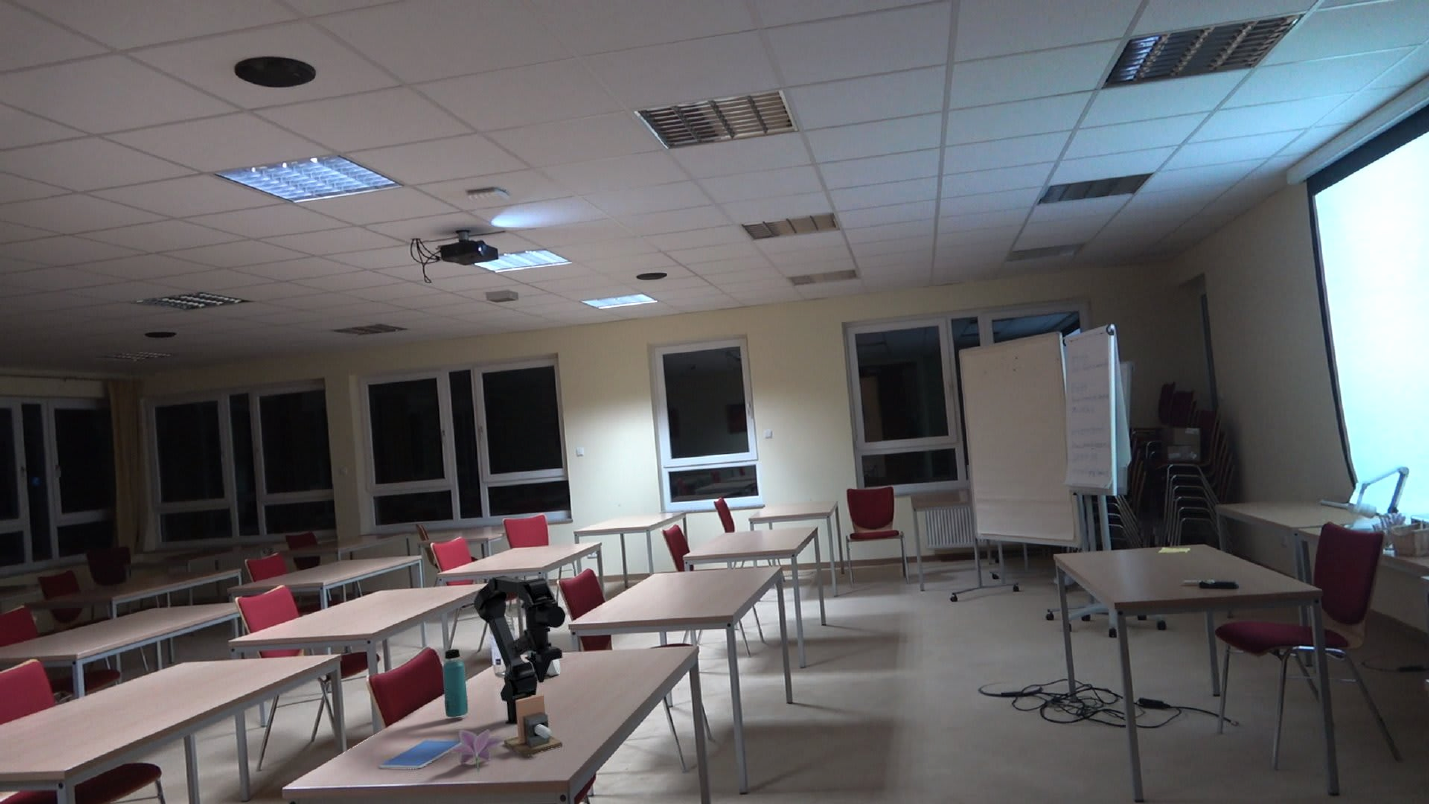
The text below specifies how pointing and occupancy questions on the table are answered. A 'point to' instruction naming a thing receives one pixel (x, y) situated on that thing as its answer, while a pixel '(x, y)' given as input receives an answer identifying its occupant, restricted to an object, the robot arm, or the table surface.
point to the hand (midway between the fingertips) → (541, 682)
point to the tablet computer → (421, 754)
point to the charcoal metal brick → (529, 735)
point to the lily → (475, 745)
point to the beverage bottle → (454, 685)
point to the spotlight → (553, 668)
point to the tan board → (527, 750)
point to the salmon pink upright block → (528, 708)
